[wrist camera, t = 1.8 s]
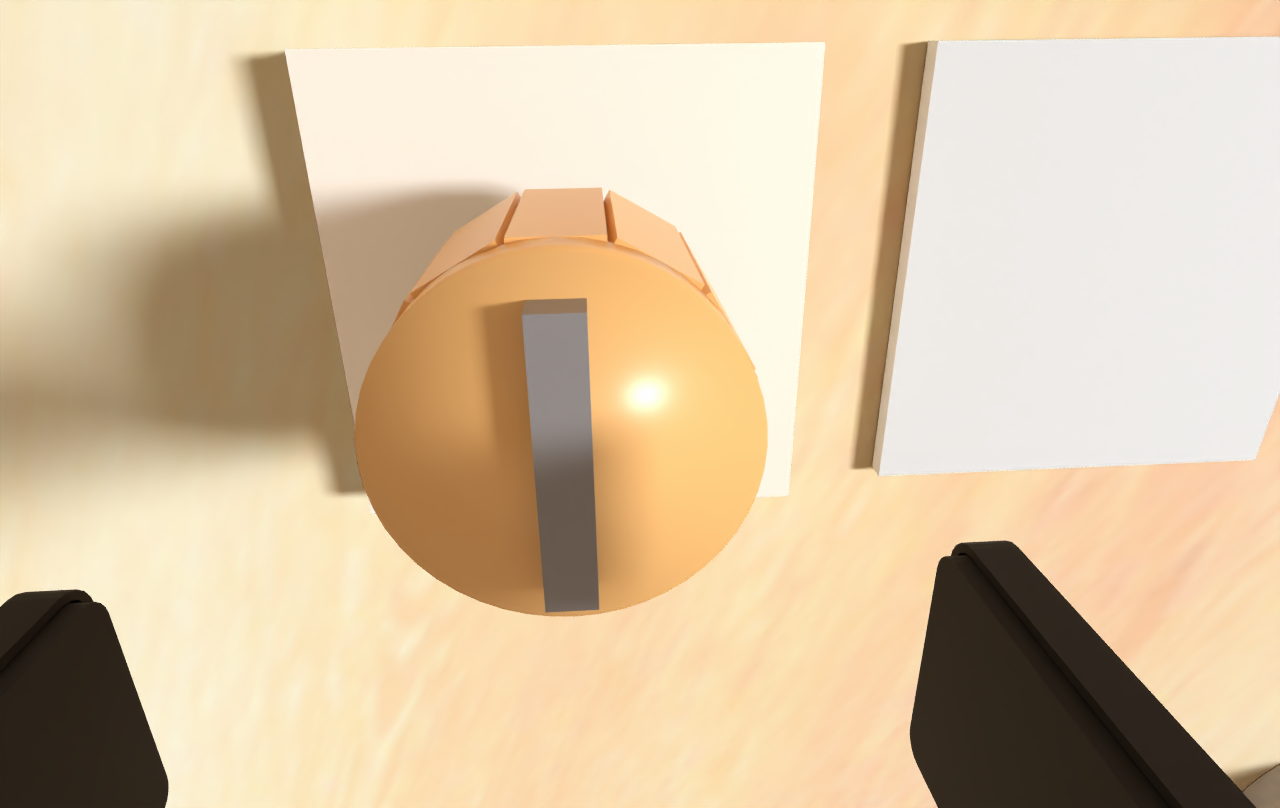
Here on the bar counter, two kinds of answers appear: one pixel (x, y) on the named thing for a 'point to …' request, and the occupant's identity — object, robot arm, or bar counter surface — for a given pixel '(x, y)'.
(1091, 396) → the mat
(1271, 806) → the glass holder
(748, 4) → the bar counter surface
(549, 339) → the knob
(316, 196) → the post block
